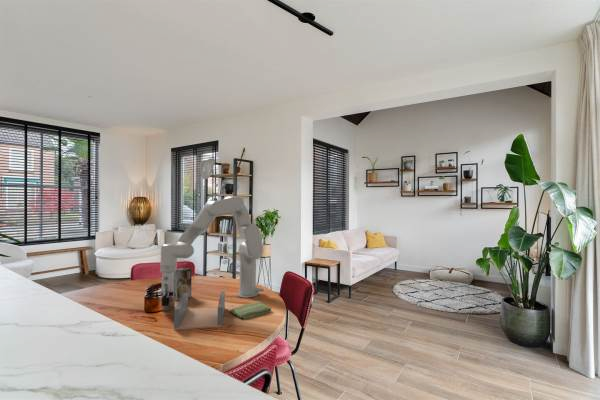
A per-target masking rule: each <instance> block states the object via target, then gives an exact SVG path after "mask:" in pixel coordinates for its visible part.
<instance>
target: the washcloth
mask: <svg viewBox="0 0 600 400" xmlns="http://www.w3.org/2000/svg"><path fill="white" fill-rule="evenodd" d="M229 311H230V313H232V314H233V315H235V316H236V317H238V318H241V319H243V320H247V319H251V318H254V317H257V316H261V315H264V314H268V313H270V312H271V311H272V307H269V306H268V305H266V304H264V303H263V302H261V301H260V300H259V301H258V300H257V301H254V302H251V303H246V304H244V305H243V304H242V305H239V306H235V307H233V308H231V309H230V310H229Z"/></svg>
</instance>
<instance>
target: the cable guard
mask: <svg viewBox="0 0 600 400" xmlns="http://www.w3.org/2000/svg"><path fill="white" fill-rule="evenodd" d="M225 308H226V291H220V295H219V299H218V305H217V307H202V308H201V307H200V308H189V297H188V293H184V294H183V296H182V297H181V299H180V300H178V302H177V304H176V305H175V307H174V309H173V311H174V313H173V315H174V316H173V330H174V331H175V330H191V329H192V330H193V329H207V328H221V327H223V324H224V323H223V322H224V318H225V317H224V315H225Z"/></svg>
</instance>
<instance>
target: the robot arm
mask: <svg viewBox="0 0 600 400" xmlns="http://www.w3.org/2000/svg"><path fill="white" fill-rule="evenodd" d="M231 214H232V215H233V216H234V219H235V221H234V222H235V226H236V230H237V231H236V232H237V235H238V237H239V238H240V239H242V240H244V241H242V242H241V243H240V244H239V246H238V257H239V280H238V281H239V288H238V289H239V291H236V296H237V297H238V298H244V299H245V298H246V299H248V298H255V297H257V296H258V295H259V292H264V287H257V285H256V284H257V260H258V259H261V257H262V256H263V253H264V247H263V241H262V234H261V229H259V226H257V225H256V224H254V223H252V221H251V217H250V212H249V210H248V208H247V206H246V205H245V200H244V199H243V198H242V197H241V196H238V195H227V196H225V197H224V198H223V199H219V200H209V201H206V203H205V204H204V205H203V207H202V208H201V210H200V211H199V213H198V214H197V215H196V217H195V218H194V220H193V222H192V223H191V224H190V225H189V226H188V227H187V228H186V229H185V230H184V231H183V233H182V234H181V235H180V236H179V239H178V240H177V241H176V243H164V244H162V245H161V247H160V271H159V273H162V274H161V293H162V294H161V307H162V306H168V305H169V297H168V296H173V290H174V289H175V272H176V270H177V269H178V268H177V265H178V261H177V260H178V258H179V259H189V258H190V257H192V256H193V255H194V254H195V248H194V246H193V245H192V244H193V243H194V242H195V240H196V239H197V238H198V237H199V236H201V235H203V234H204V233H206V232H207V231H208V229H209V228H210V226H211V225H212V223H213V222H214V220H215V219H216V218H217V217H223V216H228V215H231Z"/></svg>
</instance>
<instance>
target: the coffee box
mask: <svg viewBox="0 0 600 400" xmlns="http://www.w3.org/2000/svg"><path fill="white" fill-rule="evenodd" d="M184 293H188V298H191V297H192V268H188V267H180V268H177V270H176V272H175V289H174V290H173V296H175V301H180V299H181V297H182V296H183V294H184Z"/></svg>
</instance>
